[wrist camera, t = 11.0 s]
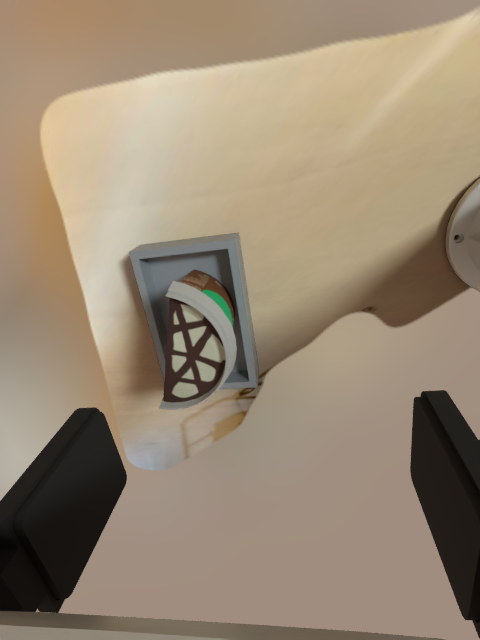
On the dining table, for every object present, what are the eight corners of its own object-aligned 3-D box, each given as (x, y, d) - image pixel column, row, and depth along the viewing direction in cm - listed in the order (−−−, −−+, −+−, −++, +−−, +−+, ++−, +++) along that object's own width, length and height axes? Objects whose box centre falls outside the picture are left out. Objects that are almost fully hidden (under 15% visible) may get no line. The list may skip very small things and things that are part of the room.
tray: (238, 232, 36) (235, 239, 34) (259, 372, 43) (257, 387, 40) (139, 245, 38) (128, 252, 35) (174, 377, 45) (167, 392, 42)
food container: (237, 367, 42) (224, 425, 33) (185, 357, 42) (158, 413, 33) (254, 265, 37) (243, 303, 28) (194, 255, 37) (165, 289, 28)
